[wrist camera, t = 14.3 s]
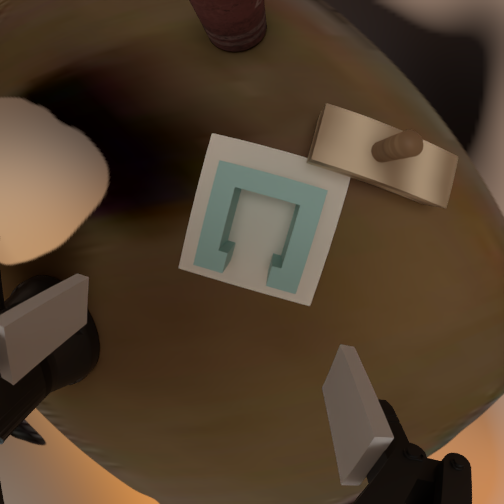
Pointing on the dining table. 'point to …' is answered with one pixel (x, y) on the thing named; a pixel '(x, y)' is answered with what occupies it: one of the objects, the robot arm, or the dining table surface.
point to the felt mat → (264, 218)
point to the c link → (223, 210)
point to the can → (232, 22)
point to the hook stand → (382, 156)
